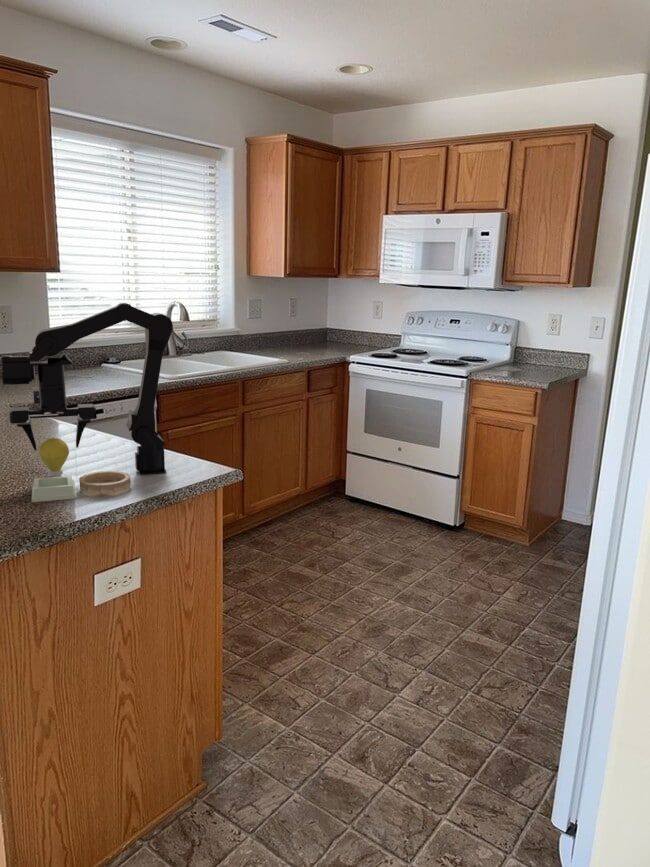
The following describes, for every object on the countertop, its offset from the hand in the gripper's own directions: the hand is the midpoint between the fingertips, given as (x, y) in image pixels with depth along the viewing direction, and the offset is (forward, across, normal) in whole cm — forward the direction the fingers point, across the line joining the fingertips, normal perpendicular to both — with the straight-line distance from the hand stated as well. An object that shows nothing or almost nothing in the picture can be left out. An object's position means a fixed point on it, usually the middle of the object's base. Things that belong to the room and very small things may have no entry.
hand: (56, 448), depth 160 cm
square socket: (+7, +1, +12) cm, 14 cm away
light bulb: (+8, +1, 0) cm, 8 cm away
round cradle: (+8, -10, +12) cm, 17 cm away
